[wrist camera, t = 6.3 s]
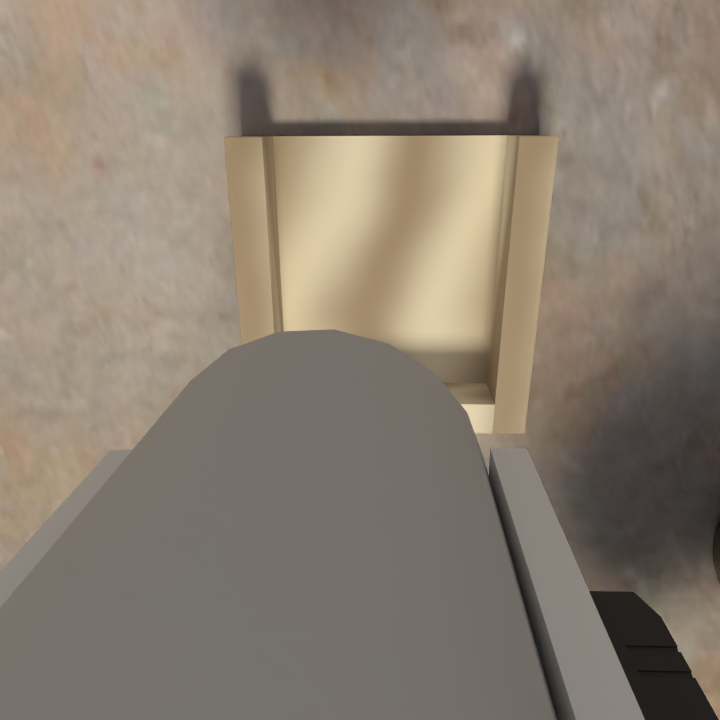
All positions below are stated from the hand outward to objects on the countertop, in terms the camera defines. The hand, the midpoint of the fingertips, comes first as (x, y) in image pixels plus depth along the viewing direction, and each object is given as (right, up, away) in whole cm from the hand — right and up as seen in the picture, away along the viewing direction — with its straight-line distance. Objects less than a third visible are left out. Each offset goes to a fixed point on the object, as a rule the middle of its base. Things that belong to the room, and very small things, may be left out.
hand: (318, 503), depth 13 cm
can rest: (+2, +7, +15) cm, 17 cm away
